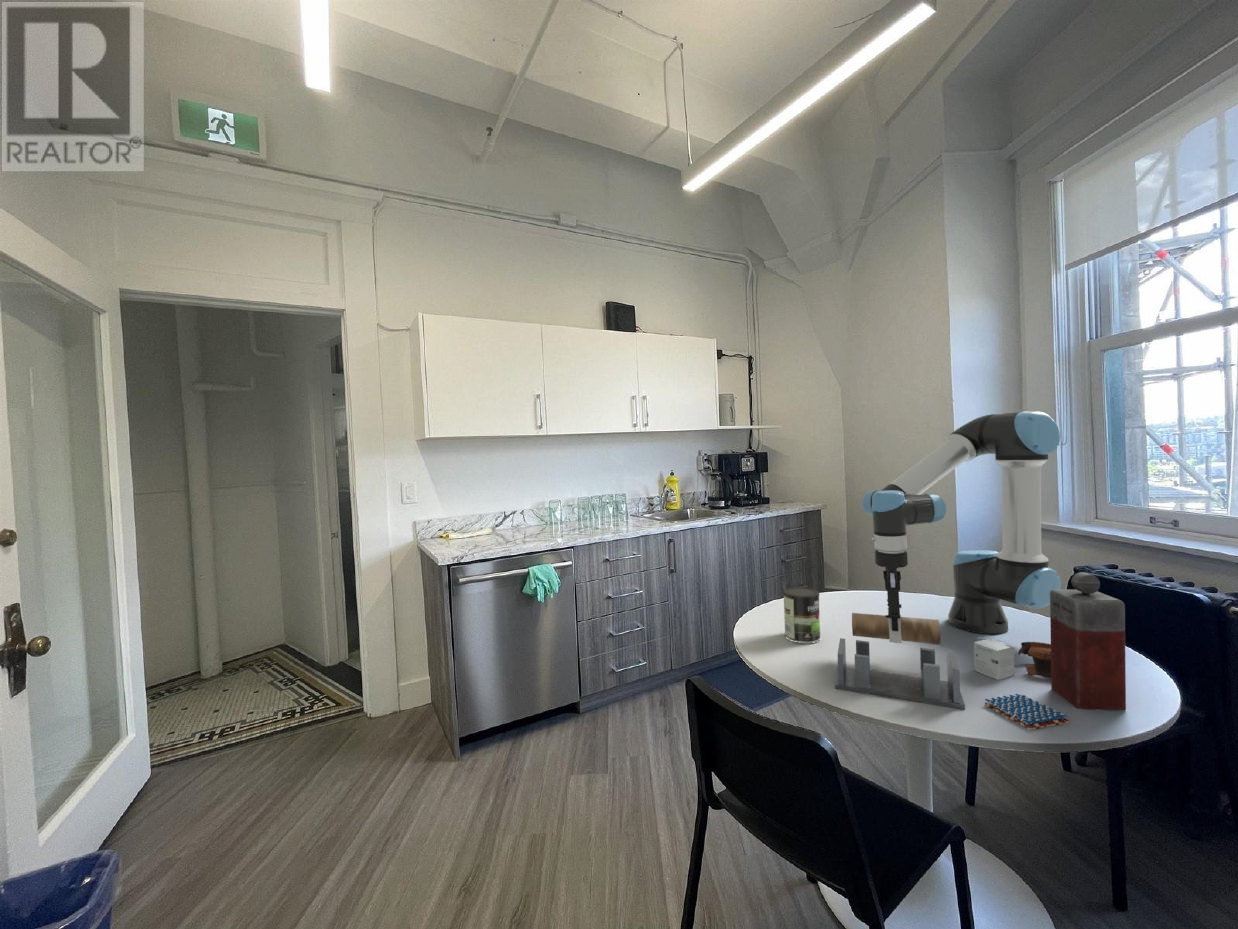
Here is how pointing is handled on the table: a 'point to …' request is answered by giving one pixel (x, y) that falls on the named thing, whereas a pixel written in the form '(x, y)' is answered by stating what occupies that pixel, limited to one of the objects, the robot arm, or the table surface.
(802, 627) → the coffee can
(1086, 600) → the red grey decanter
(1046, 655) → the orange brown curved figurine
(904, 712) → the table surface
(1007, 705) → the woven mat
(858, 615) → the tan cylinder
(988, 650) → the skincare box
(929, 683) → the bracket
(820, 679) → the table surface
